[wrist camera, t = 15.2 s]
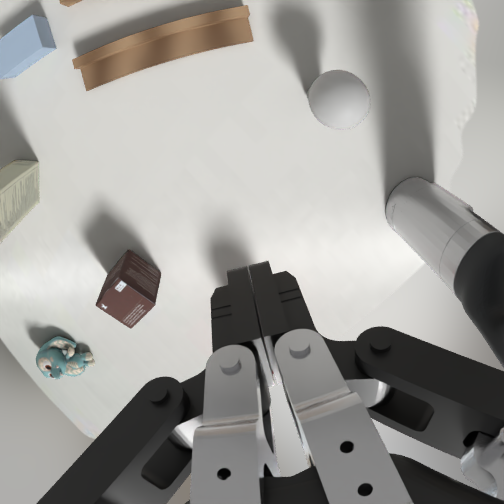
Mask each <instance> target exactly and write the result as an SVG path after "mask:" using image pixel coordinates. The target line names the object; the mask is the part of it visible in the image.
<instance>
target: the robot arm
mask: <svg viewBox="0 0 504 504" xmlns="http://www.w3.org/2000/svg"><path fill="white" fill-rule="evenodd" d="M386 218H387V221H388V223H389V225H390V226H391V228H392V229H393V230H394V231H395V232H396V233H397V234H398V235H399V236H400V237H401V238H402V239H403V240H404V241H405V242H406V243H407V244H408V245H409V246H410V247H411V248H412V249H413V250H414V251H415V252H416V253H417V254H418V255H419V256H420V257H421V258H422V259H423V260H424V261H425V262H426V264H427V265H428V266H429V267H430V268H431V269H432V270H433V271H434V272H435V273H436V274H437V275H438V276H439V278H440V279H442V281H443V282H444V283H445V284H446V285H447V286H448V287H449V289H450V290H451V291H452V292H453V293H454V294H455V295H456V296H457V298H458V299H459V300H460V301H461V302H462V305H463V307H464V310H465V312H466V313H467V315H468V316H469V318H470V319H471V320H472V322H473V323H474V324H475V326H476V327H477V328H478V330H479V331H480V333H481V334H482V335H483V337H484V338H485V340H486V341H487V343H488V345H489V346H490V348H491V349H492V351H493V352H494V354H495V355H496V357H497V358H498V360H499V361H500V363H501V364H502V366H503V367H504V234H503V233H501V232H500V231H499V230H497V229H496V228H495V227H493V226H492V225H490V224H489V223H488V222H486V221H485V220H484V219H482V218H481V217H480V216H478V215H477V214H475V213H474V212H473V208H472V207H471V206H470V205H468V204H467V203H465V202H463V201H462V200H461V199H459V198H458V197H456V196H455V195H453V194H452V193H450V192H449V191H447V190H445V189H444V188H442V187H441V186H439V185H437V184H436V183H429V182H428V181H426V180H424V179H422V178H417V177H414V178H409V179H406V180H404V181H403V182H401V183H400V184H399V185H398V186H397V187H396V188H395V189H394V190H393V192H392V193H391V195H390V197H389V199H388V202H387V206H386ZM249 270H250V275H251V279H250V275H249V271H248V268H247V266H246V267H242V268H238V269H233V270H229V271H227V276H228V285H227V286H223V287H219V288H216V289H215V291H214V293H213V295H212V297H211V319H212V320H211V323H212V347H213V354H212V355H211V356H210V357H209V359H208V361H207V363H206V368H205V369H204V370H203V371H202V372H201V373H199V374H198V375H196V376H194V377H192V378H190V379H188V380H186V381H184V382H181V383H179V382H178V381H177V380H176V379H174V378H171V377H159V378H155V379H153V380H151V381H149V382H148V383H147V384H145V385H144V386H143V387H142V389H141V390H140V391H139V392H138V393H137V394H136V395H135V396H134V397H133V399H132V400H131V401H130V402H129V403H128V404H127V405H126V406H125V407H124V409H123V410H122V411H121V412H120V413H119V414H118V415H117V416H116V417H115V418H114V420H113V421H112V422H111V423H110V424H109V425H108V426H107V427H106V428H105V429H104V431H103V432H102V433H101V434H100V435H99V436H98V437H97V438H96V439H95V440H94V442H93V443H92V444H91V445H90V446H89V447H88V448H87V449H86V450H85V451H84V453H83V454H82V455H81V456H80V457H79V458H78V459H77V460H76V461H75V462H74V464H73V465H72V466H71V467H70V468H69V469H68V470H67V471H66V472H65V473H64V474H63V475H62V477H61V478H60V479H59V480H58V481H57V482H56V483H55V484H54V486H52V488H51V489H50V490H49V491H48V492H47V493H46V494H45V495H44V496H43V497H42V498H41V499H40V500H39V502H38V503H37V504H166V503H167V502H168V501H169V500H170V498H171V497H172V496H173V494H175V492H176V491H177V490H178V488H179V487H180V486H181V485H182V483H183V482H184V481H185V480H186V478H187V477H188V476H189V475H190V473H191V492H190V500H189V501H188V502H186V503H185V504H504V371H501V370H499V369H496V368H493V367H490V366H488V365H485V364H483V363H480V362H477V361H475V360H472V359H469V358H467V357H464V356H461V355H458V354H456V353H454V352H451V351H448V350H446V349H443V348H441V347H438V346H435V345H432V344H430V343H428V342H425V341H422V340H420V339H417V338H415V337H412V336H410V335H407V334H404V333H402V332H399V331H397V330H394V329H392V328H389V327H373V328H370V329H367V330H366V331H364V332H363V333H361V334H360V336H359V337H358V338H357V340H356V341H334V340H330V339H327V338H325V337H323V336H322V335H321V334H319V333H318V331H317V330H316V328H315V326H314V324H313V321H312V318H311V316H310V313H309V311H308V308H307V306H306V303H305V301H304V298H303V296H302V293H301V290H300V288H299V285H298V283H297V280H296V278H295V277H294V276H292V275H291V274H290V273H288V272H287V271H284V272H280V273H276V274H272V271H271V267H270V264H269V261H266V262H262V263H258V264H254V265H249ZM251 280H252V283H251ZM252 284H253V286H252ZM253 289H254V290H253ZM269 358H270V360H269ZM270 362H271V365H272V369H273V372H274V376H275V379H276V383H277V384H282V383H283V387H284V391H285V395H286V398H287V403H288V406H289V409H290V412H291V415H292V418H293V420H294V424H295V427H296V429H297V432H298V435H299V438H300V441H301V444H302V447H303V450H304V453H305V456H306V460H307V463H308V466H309V468H308V469H306V470H304V471H302V472H300V473H298V474H296V475H294V476H291V477H281V476H280V471H279V466H278V462H277V456H276V447H275V437H274V427H273V418H272V409H271V398H270V393H269V388H268V387H269V386H274V385H275V383H274V379H273V374H272V369H271V365H270ZM371 418H372V419H374V420H376V421H378V422H380V423H382V424H384V425H386V426H388V427H391V428H393V429H395V430H397V431H399V432H401V433H403V434H405V435H407V436H409V437H412V438H414V439H416V440H418V441H420V442H423V443H425V444H427V445H429V446H431V447H434V448H436V449H438V450H441V451H443V452H445V453H448V454H450V455H453V456H455V457H457V458H460V459H461V470H462V473H463V475H464V476H465V478H466V479H467V480H469V481H470V482H472V483H474V484H475V485H476V486H477V487H478V489H479V490H477V489H474V488H472V487H470V486H467V485H465V484H463V483H461V482H459V481H456V480H454V479H452V478H450V477H448V476H446V475H444V474H442V473H439V472H437V471H435V470H433V469H431V468H429V467H427V466H425V465H423V464H421V463H419V462H417V461H415V460H413V459H411V458H408V457H405V456H402V455H397V454H390V453H388V451H387V449H386V447H385V445H384V443H383V441H382V439H381V437H380V435H379V433H378V431H377V429H376V427H375V425H374V423H373V421H372V419H371Z"/></svg>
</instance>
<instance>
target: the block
mask: <svg viewBox="0 0 504 504" xmlns="http://www.w3.org/2000/svg"><path fill="white" fill-rule="evenodd" d="M55 49H57V48H56V45H55V42H54V39H53V36H52V33H51V30H50V27H49V23H48V20H47V18H44V17H40V16H36V15H31V16H30V17H29V18H27V19H26V20H24V21H23V22H22V23H20V24H19V25H18V26H16V27H15V28H14V29H12V30H11V31H10V32H9V33H7V34H6V35H5V36H4V37H2V38H1V39H0V79H5V78H14V77H16V76H18V75H19V74H20V73H22V72H23V71H24V70H26V69H27V68H29V67H30V66H31V65H33V64H34V63H36V62H37V61H39V60H40V59H41V58H43V57H44V56H46V55H47V54H49V53H51V52H52V51H54V50H55Z"/></svg>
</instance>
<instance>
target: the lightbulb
mask: <svg viewBox="0 0 504 504" xmlns="http://www.w3.org/2000/svg"><path fill="white" fill-rule="evenodd" d="M307 98H308V100H309V105H310V108H311V111H312V112H313V114H314V116H315V117H316V118H317V119H318V121H320V122H321V123H322V124H324V125H326V126H328V127H330V128H333V129H339V130H344V129H350V128H353V127H355V126H357V125H358V124H360V123H361V122H362V121H363V120H364V119H365V118H366V116H367V114H368V112H369V109H370V95H369V91H368V89H367V87H366V86H365V84H364V83H363V82H362V80H361V79H359V78H358V77H357V76H355V75H354V74H352V73H350V72H347V71H343V70H332V71H328V72H325V73H323V74H322V75H320V76H319V77H318V78H317V79H316V80H315V81H314V82H313V83H312V86H311V87H310V88H309V90H308V92H307Z"/></svg>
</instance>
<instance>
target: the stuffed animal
mask: <svg viewBox="0 0 504 504" xmlns="http://www.w3.org/2000/svg"><path fill="white" fill-rule="evenodd" d="M75 347H76V343H74V342H73V341H71V340H69V339H66V338H63V337H59V336H57V337H54V338H53V339H51V340H50V341H48V342H46V343H45V344H44V345H43V346H42V347H41V348H40V350H39V352H38V354H37V356H36V364H37V366H38V368H39V369H40V371H41V372H42V373H43V375H44V376H45V377H48V378H49V377H50V378H55V379H60V378H61V377H63V375H68V376H78V375H80V374H81V373H83V372H84V370H85V365H86V366H94V364H95V361H94V359H93V357H92V354H91V353H90V352H86V353H83V354H82V355H80V354H78V353H74V352H75V350H74V349H73V348H75ZM59 348H60V349H64V350H65V349H68V352H67V354H66V356H64V354H63V353H62V351H61V350H60V349H59Z"/></svg>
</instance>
